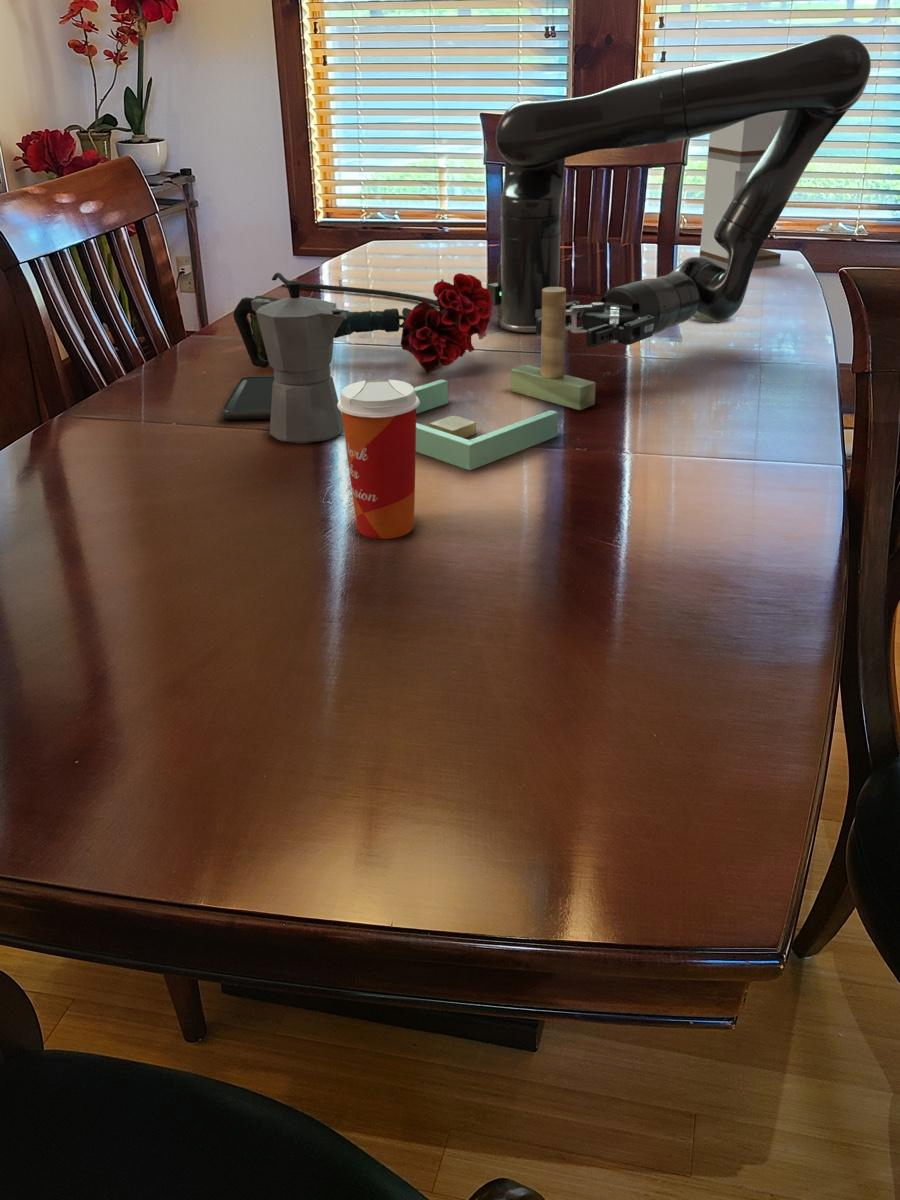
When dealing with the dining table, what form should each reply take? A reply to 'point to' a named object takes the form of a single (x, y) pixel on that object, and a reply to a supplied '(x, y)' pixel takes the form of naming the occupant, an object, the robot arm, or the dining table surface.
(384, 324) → the carnation
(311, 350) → the coffeepot
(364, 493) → the paper cup
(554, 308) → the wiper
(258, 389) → the phone
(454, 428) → the beige square block
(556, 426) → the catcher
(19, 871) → the dining table surface
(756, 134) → the white pillar
